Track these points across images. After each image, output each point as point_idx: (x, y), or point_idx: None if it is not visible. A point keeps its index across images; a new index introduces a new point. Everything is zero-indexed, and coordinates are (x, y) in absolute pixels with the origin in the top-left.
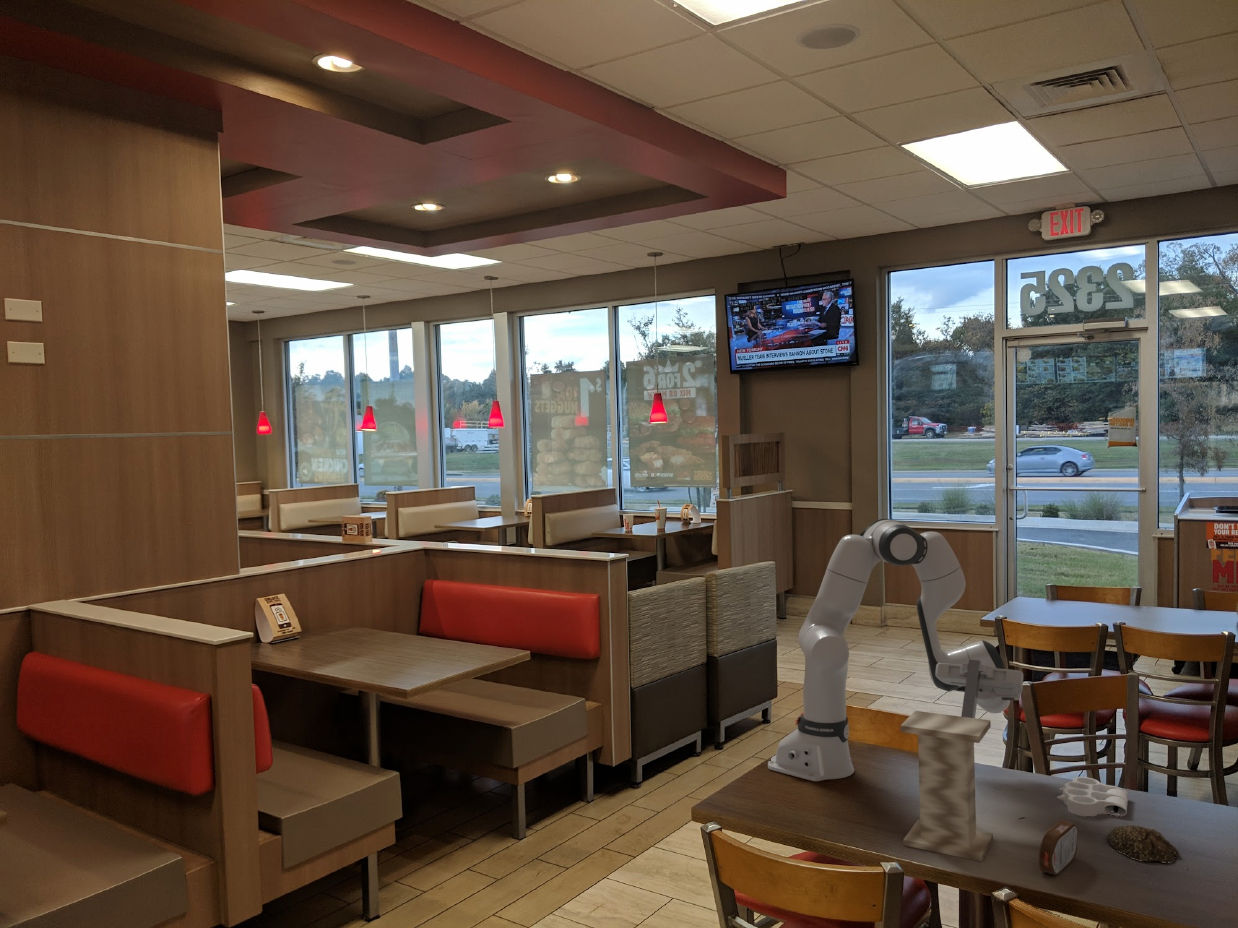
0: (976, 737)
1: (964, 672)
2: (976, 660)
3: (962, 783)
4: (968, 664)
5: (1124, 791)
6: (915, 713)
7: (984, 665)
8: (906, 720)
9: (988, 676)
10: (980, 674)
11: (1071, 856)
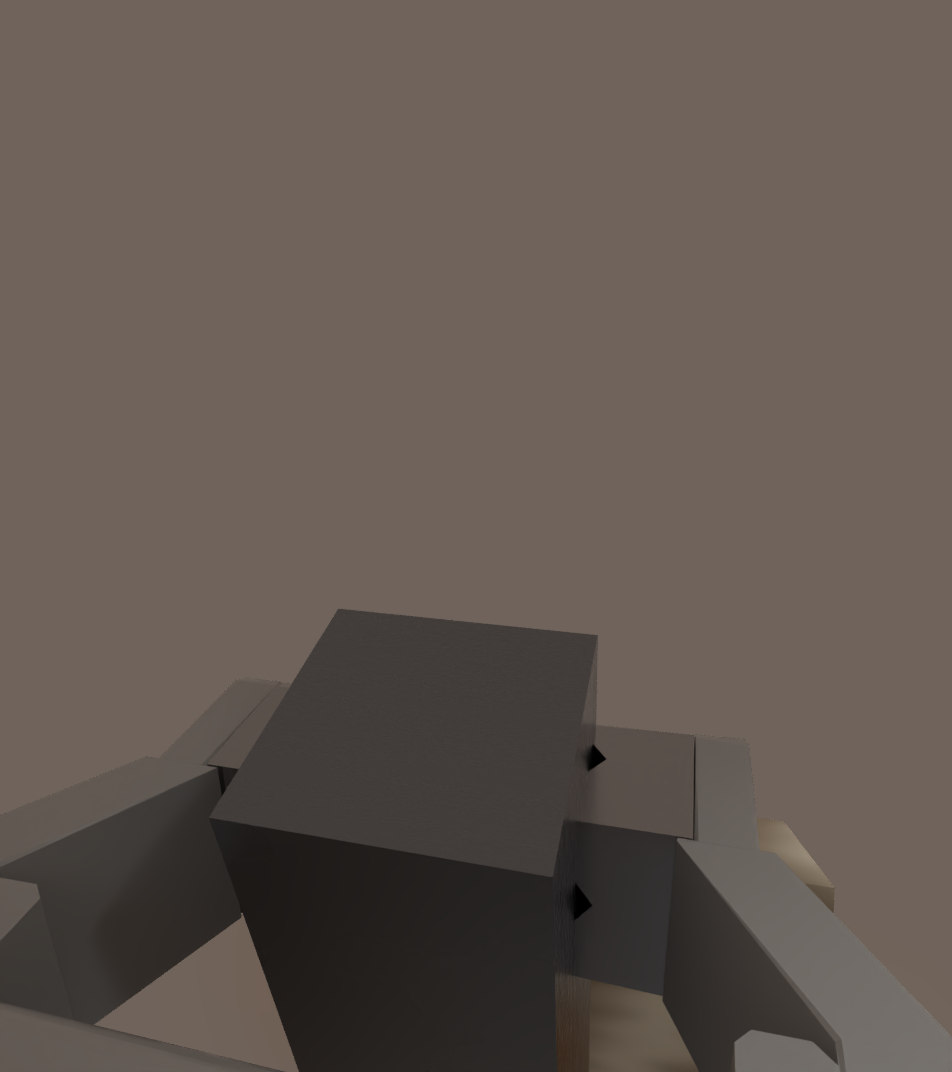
0: None
1: (695, 1036)
2: (414, 627)
3: None
4: (591, 744)
5: None
6: (806, 871)
7: (262, 682)
8: (792, 839)
9: (75, 1018)
10: (276, 1003)
11: None
